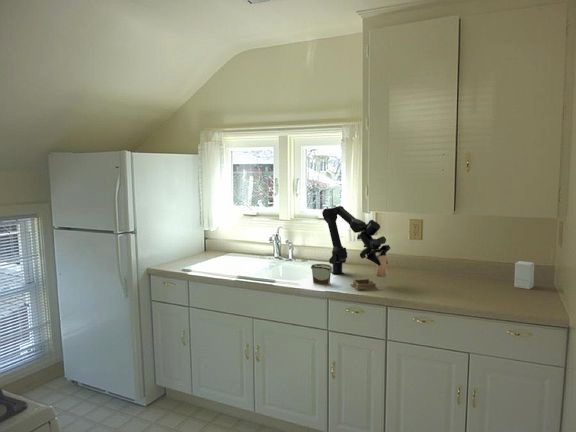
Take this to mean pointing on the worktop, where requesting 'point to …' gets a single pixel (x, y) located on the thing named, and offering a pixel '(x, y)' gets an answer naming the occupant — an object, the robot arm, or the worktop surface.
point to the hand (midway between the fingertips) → (383, 264)
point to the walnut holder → (364, 285)
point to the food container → (321, 273)
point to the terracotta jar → (381, 266)
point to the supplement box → (524, 274)
